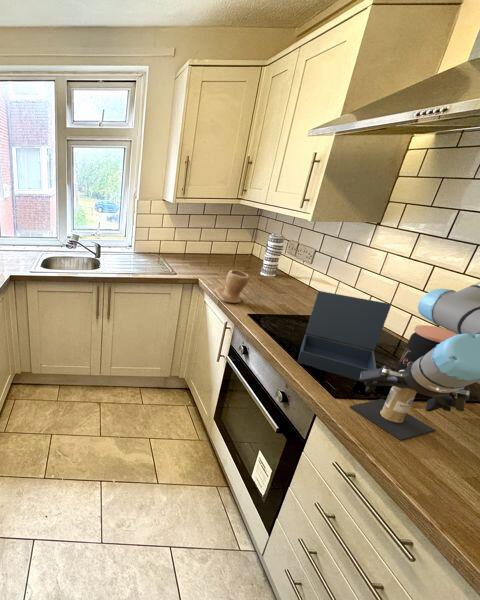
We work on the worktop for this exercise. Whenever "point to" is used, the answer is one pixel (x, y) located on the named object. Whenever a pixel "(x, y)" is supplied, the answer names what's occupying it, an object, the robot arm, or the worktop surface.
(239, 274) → the stone cup
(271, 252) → the leaning tower model
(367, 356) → the chest
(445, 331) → the coffee jar
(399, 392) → the sprinkles bottle
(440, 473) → the worktop surface
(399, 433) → the mat
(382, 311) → the chest lid
